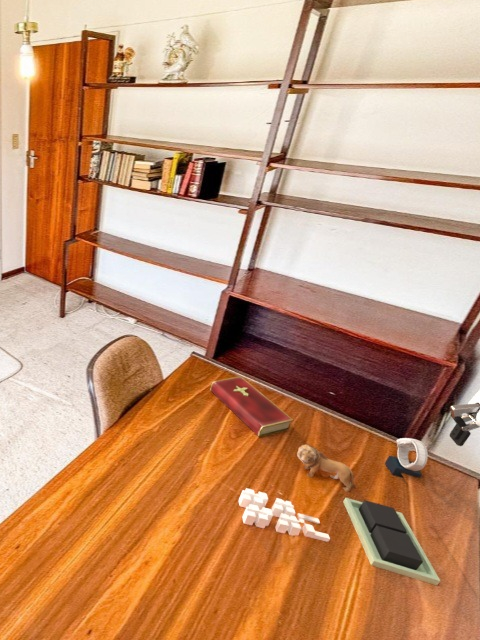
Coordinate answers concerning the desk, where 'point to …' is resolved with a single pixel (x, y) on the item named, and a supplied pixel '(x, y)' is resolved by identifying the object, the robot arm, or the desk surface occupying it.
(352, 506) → the pale green flat tray
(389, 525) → the black square block
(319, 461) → the lion figurine
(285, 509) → the modular blocks
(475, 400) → the robot arm
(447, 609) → the desk surface
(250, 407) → the hardcover book
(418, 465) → the watch
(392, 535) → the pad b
